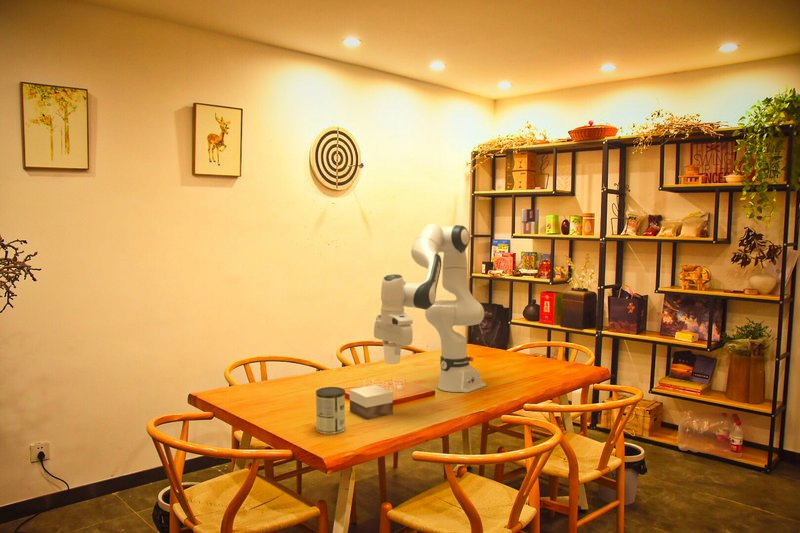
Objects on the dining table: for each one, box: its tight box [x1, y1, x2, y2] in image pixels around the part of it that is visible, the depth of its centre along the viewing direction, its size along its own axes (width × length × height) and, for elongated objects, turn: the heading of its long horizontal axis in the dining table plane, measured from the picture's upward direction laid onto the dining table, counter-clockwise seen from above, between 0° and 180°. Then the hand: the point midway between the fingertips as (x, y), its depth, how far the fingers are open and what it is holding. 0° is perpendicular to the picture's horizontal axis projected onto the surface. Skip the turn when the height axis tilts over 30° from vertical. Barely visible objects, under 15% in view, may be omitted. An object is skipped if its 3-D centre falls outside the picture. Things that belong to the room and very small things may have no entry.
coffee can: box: [315, 386, 346, 435], centre depth 220 cm, size 10×10×14 cm
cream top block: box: [349, 384, 394, 408], centre depth 239 cm, size 12×12×4 cm
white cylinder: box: [382, 342, 402, 365], centre depth 236 cm, size 7×7×7 cm
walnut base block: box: [349, 399, 394, 421], centre depth 240 cm, size 12×12×5 cm
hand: (392, 353), depth 237 cm, fingers closed on white cylinder, 5 cm apart
